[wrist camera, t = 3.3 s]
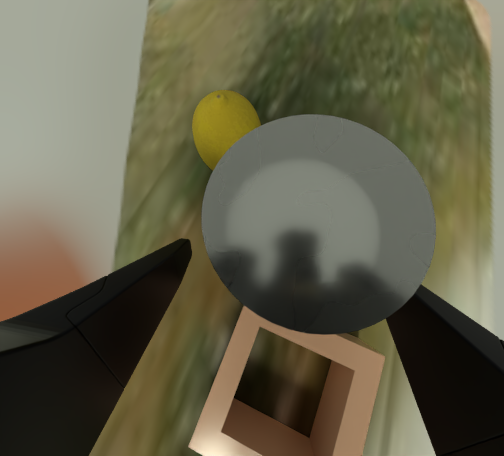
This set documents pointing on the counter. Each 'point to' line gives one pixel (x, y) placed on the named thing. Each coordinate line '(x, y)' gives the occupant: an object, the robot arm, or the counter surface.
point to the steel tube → (318, 224)
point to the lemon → (221, 124)
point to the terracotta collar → (273, 432)
